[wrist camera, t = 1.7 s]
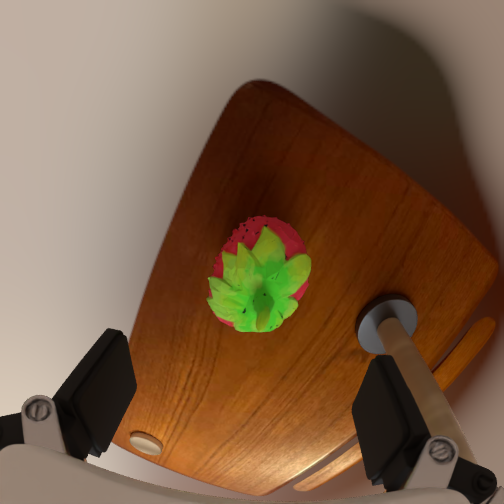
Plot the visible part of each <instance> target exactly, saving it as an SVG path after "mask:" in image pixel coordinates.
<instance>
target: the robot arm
mask: <svg viewBox="0 0 504 504" xmlns="http://www.w3.org/2000/svg"><path fill="white" fill-rule="evenodd" d="M136 389H137V383H136V379H135V375H134V370H133V366H132V361H131V356H130V351H129V346H128V341H127V337H126V336H125V335H123V332H122V331H120V330H115V329H110V328H108V329H106V331H105V332H104V333H103V334H102V335H101V336H100V338H99V339H98V340H97V341H96V343H95V344H94V345H93V346H92V348H91V349H90V350H89V351H88V353H87V354H86V355H85V356H84V358H83V359H82V360H81V361H80V363H79V364H78V365H77V366H76V368H75V369H74V370H73V371H72V373H71V374H70V376H69V377H68V378H67V379H66V381H65V382H64V383H63V384H62V386H61V387H60V388H59V390H58V391H57V392H56V394H55V395H54V396H53V398H52V399H51V398H49V397H47V396H44V395H36V396H32V397H30V398H29V399H27V400H26V401H25V402H24V404H23V406H22V411H21V412H20V413H16V414H11V415H6V416H1V417H0V504H504V488H503V487H502V486H500V487H499V488H498V487H497V480H496V477H495V474H494V473H493V472H492V471H490V470H489V469H487V468H484V467H482V466H479V465H477V464H475V463H472V462H470V461H468V460H466V459H463V458H461V457H459V456H458V453H459V450H458V446H457V444H456V443H455V442H454V441H453V440H452V439H451V438H449V437H448V436H444V435H436V436H433V437H431V434H430V432H429V430H428V427H427V425H426V423H425V421H424V418H423V416H422V414H421V412H420V410H419V408H418V405H417V403H416V401H415V399H414V397H413V395H412V393H411V391H410V389H409V388H408V386H407V384H406V382H405V380H404V378H403V376H402V374H401V372H400V370H399V368H398V366H397V364H396V362H395V360H394V358H393V357H392V355H377V356H376V357H375V359H372V360H371V362H370V364H369V367H368V370H367V372H366V375H365V377H364V380H363V382H362V384H361V387H360V389H359V391H358V394H357V396H356V398H355V401H354V403H353V405H352V415H353V419H354V423H355V427H356V431H357V436H358V440H359V444H360V448H361V453H362V457H363V461H364V466H365V471H366V475H367V478H368V479H369V480H371V481H372V485H373V486H374V485H380V484H384V488H385V491H384V492H383V493H381V494H375V495H368V496H362V497H353V498H345V499H334V500H320V501H294V502H293V501H292V502H291V501H289V502H287V501H254V500H242V499H231V498H223V497H214V496H208V495H202V494H196V493H190V492H185V491H180V490H175V489H171V488H166V487H162V486H158V485H154V484H150V483H147V482H143V481H140V480H136V479H133V478H130V477H126V476H123V475H120V474H117V473H114V472H111V471H108V470H106V469H103V468H100V467H97V466H95V465H92V464H89V463H87V461H86V458H87V456H88V454H91V455H93V456H96V457H98V458H99V457H100V455H101V453H102V452H106V451H107V449H108V447H109V445H110V443H111V441H112V439H113V437H114V434H115V432H116V430H117V428H118V426H119V424H120V422H121V420H122V418H123V416H124V414H125V412H126V410H127V408H128V406H129V404H130V402H131V400H132V398H133V396H134V394H135V392H136Z"/></svg>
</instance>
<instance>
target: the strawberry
mask: <svg viewBox="0 0 504 504" xmlns="http://www.w3.org/2000/svg"><path fill="white" fill-rule="evenodd" d="M223 246H224V247H223V248H221V252H220V254H218V256H217V257H215V259H216V261H217V262H216V264H214V266H213V268H214V273H213V274H212V276H211V277H209V278H208V279H209V283H210V288H211V289H209V297H208V298H207V301H208V303H209V305H210V307H211V308H212V310H213V314H215V315H216V316H217V318H218V319H219V320H220V321H221V322H223V323H225V324H227V325H229V326H230V327H235V330H238V331H240V332H251V331H253V332H267V331H272V330H274V329H275V328H277V327H279V326H280V325H281V324H282V322H283V320H284V319H285V318H287V317H289V316H291V314H292V313H293V312H294V310H296V308H297V307H298V300H299V299H300V298H301V297H302V296H303V294H304V292H305V290H306V288H307V287H308V285H309V284H308V276H309V274H310V271H311V259H310V257H309V256H308V255H307V253H306V248H305V245H304V241H302V240H301V238H300V237H299V235H298V233H297V231H296V230H295V229H293V228H292V227H291V226H290V224H289V223H288V224H286V223H285V222H283V221H281V220H278V219H277V217H275V218H271V217H266V216H265V215H263V216H262V217H261V216H256V217H254V218H250V217H248V219H247V221H246V222H245V223H240V227H239V228H238V229H237V228H236V229H235V230H233V235H232V236H231V237H229V238H228V242H227V243H226V244H225V245H223Z"/></svg>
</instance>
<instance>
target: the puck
mask: <svg viewBox="0 0 504 504" xmlns="http://www.w3.org/2000/svg"><path fill="white" fill-rule="evenodd" d="M130 443H131V444H132V445H133V446H134V447H135V448H136V449H138V450H140V451H142V452H144V453H147V454H150V455H159V454H161V452H162V449H163V445H162V444H161V442H160V441H158V440H157V439H156V438H154V437H152V436H150V435H148V434H144V433H139V432H136V433H133V434H132V435H131V437H130Z"/></svg>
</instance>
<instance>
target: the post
mask: <svg viewBox="0 0 504 504" xmlns="http://www.w3.org/2000/svg"><path fill="white" fill-rule="evenodd" d="M416 325H417V312H416V309H415V308H414V306H413V305H412V304H411V302H410V301H409V300H408V299H407V298H405V297H403V296H401V295H397V294H389V295H384V296H381V297H379V298H377V299H375V300H373V301H372V302H370V303H369V304H368V305H367V306H366V307H365V308H364V309H363V310H362V312H361V313H360V315H359V317H358V319H357V322H356V327H355V332H356V336H357V339H358V341H359V343H360V345H361V347H362V348H363V349H364V350H366V351H368V352H370V353H373V354H385V353H386V354H387V355H392V357H393V358H394V360H395V362H396V364H397V366H398V368H399V370H400V372H401V374H402V376H403V378H404V380H405V382H406V384H407V386H408V388H409V389H410V391H411V393H412V395H413V397H414V399H415V401H416V403H417V405H418V408H419V410H420V412H421V414H422V416H423V418H424V421H425V423H426V425H427V427H428V430H429V432H430V434H431V437H433V436H436V435H444V436H448V437H449V438H451V439H452V440H453V441H454V442H455V443H456V444H457V446H458V450H459V453H458V456H459V457H461V458H463V459H466V460H468V461H470V462H472V463H475V464H477V462H476V459H475V457H474V455H473V453H472V450H471V448H470V446H469V444H468V442H467V440H466V437H465V435H464V433H463V431H462V429H461V427H460V425H459V423H458V421H457V419H456V417H455V415H454V413H453V411H452V409H451V408H450V406H449V404H448V402H447V400H446V398H445V396H444V394H443V393H442V391H441V389H440V387H439V385H438V383H437V382H436V380H435V378H434V376H433V375H432V373H431V371H430V369H429V368H428V366H427V364H426V363H425V361H424V359H423V358H422V356H421V354H420V353H419V351H418V349H417V348H416V346H415V344H414V343H413V341H412V340H411V338H410V337H411V336H412V334H413V333H414V331H415V329H416ZM477 465H478V464H477Z"/></svg>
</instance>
